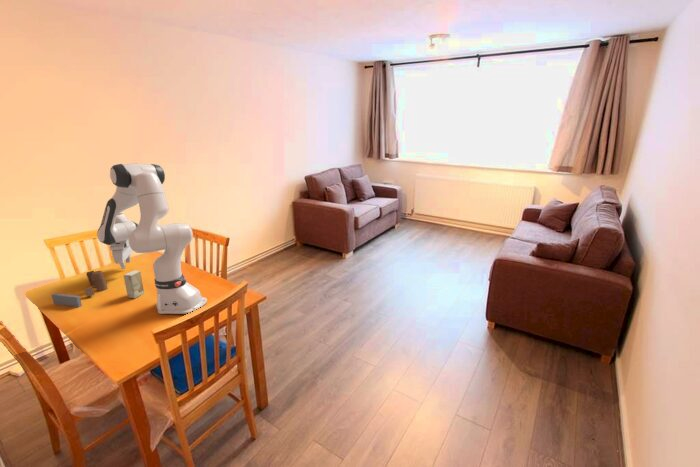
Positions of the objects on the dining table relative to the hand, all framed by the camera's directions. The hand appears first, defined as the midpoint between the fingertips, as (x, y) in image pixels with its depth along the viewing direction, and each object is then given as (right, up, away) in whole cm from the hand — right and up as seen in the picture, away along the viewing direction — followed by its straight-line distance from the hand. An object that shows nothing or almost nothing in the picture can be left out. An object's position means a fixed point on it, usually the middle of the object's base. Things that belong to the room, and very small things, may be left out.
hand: (126, 265), depth 189 cm
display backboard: (-7, -16, -31) cm, 36 cm away
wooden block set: (-4, -11, -16) cm, 20 cm away
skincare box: (+20, -13, -22) cm, 32 cm away
